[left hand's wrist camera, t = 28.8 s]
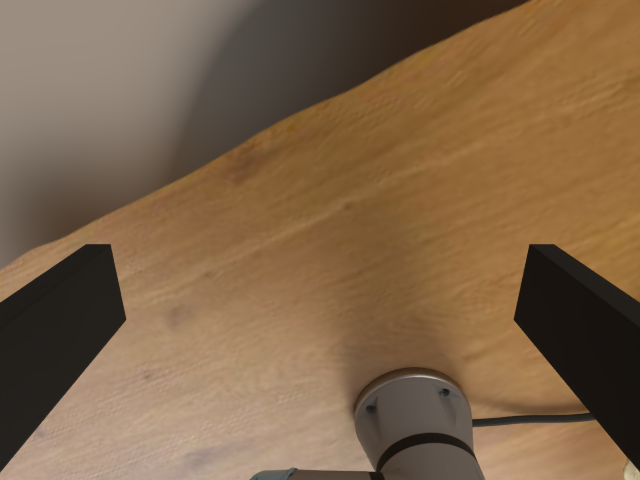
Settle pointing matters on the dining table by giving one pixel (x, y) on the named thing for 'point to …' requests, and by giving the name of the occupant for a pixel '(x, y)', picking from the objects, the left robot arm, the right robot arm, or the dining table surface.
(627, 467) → the bowl
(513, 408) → the dining table surface
